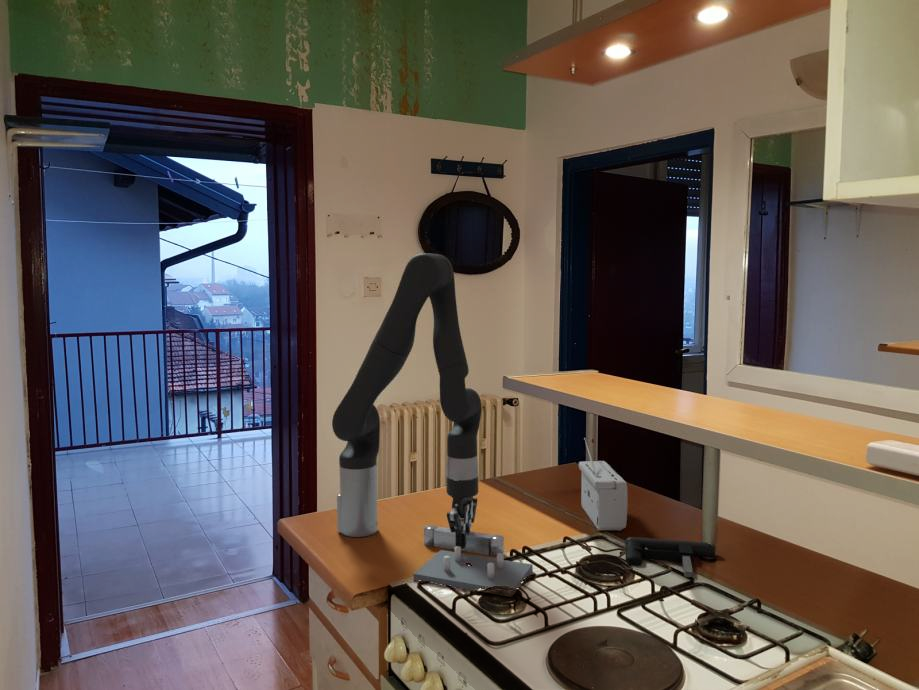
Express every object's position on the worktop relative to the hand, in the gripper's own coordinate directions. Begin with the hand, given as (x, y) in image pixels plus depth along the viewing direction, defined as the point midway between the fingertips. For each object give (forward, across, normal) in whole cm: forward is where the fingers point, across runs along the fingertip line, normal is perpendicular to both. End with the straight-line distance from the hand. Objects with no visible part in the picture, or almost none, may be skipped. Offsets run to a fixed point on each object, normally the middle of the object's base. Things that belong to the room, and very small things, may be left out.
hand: (462, 545), depth 166 cm
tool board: (+1, +13, +8) cm, 15 cm away
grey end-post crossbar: (+1, 0, 0) cm, 1 cm away
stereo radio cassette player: (+1, -33, +26) cm, 42 cm away
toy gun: (+1, -11, +46) cm, 47 cm away
